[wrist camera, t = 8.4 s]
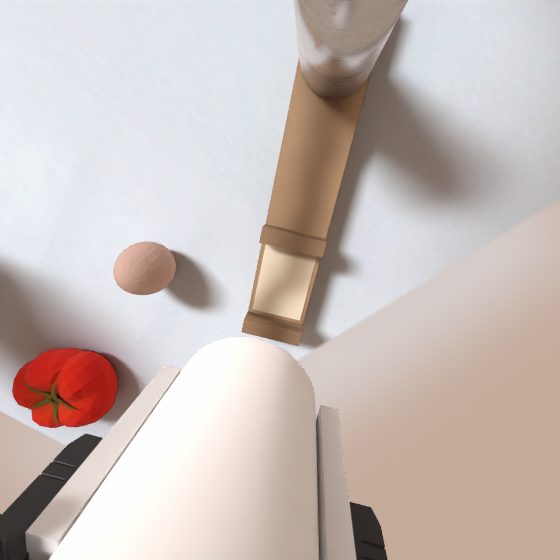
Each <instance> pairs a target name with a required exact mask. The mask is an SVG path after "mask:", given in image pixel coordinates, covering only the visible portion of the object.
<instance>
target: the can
mask: <svg viewBox="0 0 560 560" xmlns="http://www.w3.org/2000/svg"><path fill="white" fill-rule="evenodd" d="M49 560H319V533H318V490H317V449H316V415H315V395H314V389H313V386H312V383H311V381H310V378H309V377H308V375H307V373H306V372H305V370H304V369H303V368H302V367H301V365H300V364H299V363H298V362H297V361H296V360H295V359H294V358H293V357H292V356H291V355H290V354H289V353H287V352H286V351H285V350H283V349H281V348H280V347H278V346H276V345H274V344H271V343H269V342H266V341H263V340H259V339H255V338H247V337H233V338H226V339H222V340H218V341H215V342H213V343H211V344H208V345H207V346H205V347H203V348H202V349H200V350H199V351H198V352H197V353H196V354H195V355H194V356H193V357H192V358H191V359H190V360H189V362H188V363H187V364H186V366H185V367H184V368H183V370H182V371H181V372H180V374H179V375H178V377H177V378H176V379H175V381H174V382H173V384H172V385H171V386H170V388H169V389H168V391H167V392H166V393H165V395H164V396H163V398H162V399H161V400H160V402H159V403H158V405H157V406H156V408H155V409H154V410H153V412H152V413H151V415H150V416H149V417H148V419H147V420H146V422H145V423H144V425H143V426H142V427H141V429H140V430H139V432H138V433H137V435H136V436H135V437H134V439H133V440H132V442H131V443H130V444H129V446H128V447H127V449H126V450H125V452H124V453H123V454H122V456H121V457H120V459H119V460H118V462H117V463H116V464H115V466H114V467H113V469H112V470H111V472H110V473H109V474H108V476H107V477H106V479H105V480H104V482H103V483H102V484H101V486H100V487H99V489H98V490H97V492H96V493H95V494H94V496H93V497H92V499H91V500H90V502H89V503H88V504H87V506H86V507H85V509H84V510H83V512H82V513H81V514H80V516H79V517H78V519H77V520H76V522H75V523H74V524H73V526H72V527H71V529H70V530H69V532H68V533H67V534H66V536H65V537H64V539H63V540H62V542H61V543H60V544H59V546H58V547H57V549H56V550H55V552H54V553H53V554H52V556H51V557H50V559H49Z"/></svg>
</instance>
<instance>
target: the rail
mask: <svg viewBox="0 0 560 560" xmlns="http://www.w3.org/2000/svg"><path fill="white" fill-rule="evenodd" d="M370 73H371V72H370ZM369 77H370V74H369V76H368V78H367V79H366V81H365V82H364V84H363V85H362V86H361V87H360V88H359V89H358V90H357V91H356V92H354V93H353V94H351V95H350V96H347V97H345V98H342V99H326V98H322V97H320V96H318V95H317V94H315V93H314V92H313V91H312V90H311V89H310V88H309V87H308V86H307V84H306V83H305V81H304V79H303V76H302V73H301V69H300V60H299V61H298V66H297V71H296V76H295V81H294V86H293V91H292V96H291V101H290V106H289V111H288V116H287V121H286V126H285V131H284V136H283V141H282V146H281V151H280V156H279V161H278V165H277V170H276V175H275V180H274V185H273V190H272V195H271V200H270V205H269V210H268V215H267V220H266V224H265V225H264V226H263V227H262V232H261V237H260V242H259V243H262V245H261V250H260V255H259V260H258V265H257V270H256V275H255V280H254V285H253V290H252V295H251V300H250V305H249V310H248V313H247V315H246V317H245V319H244V323H243V328H242V332H243V333H247V334H251V335H255V336H260V337H264V338H268V339H272V340H276V341H280V342H284V343H288V344H292V345H296V346H299V343H300V339H301V336H302V327H303V321H304V318H305V314H306V310H307V307H308V303H309V299H310V295H311V292H312V288H313V284H314V281H315V277H316V273H317V270H318V266H319V262H320V258H321V257H322V258H323V255H324V251H325V247H326V244H327V240H326V236H327V232H328V229H329V225H330V221H331V218H332V214H333V210H334V206H335V203H336V199H337V195H338V192H339V188H340V184H341V181H342V177H343V173H344V169H345V166H346V162H347V158H348V155H349V151H350V147H351V143H352V140H353V136H354V132H355V129H356V125H357V121H358V117H359V114H360V110H361V106H362V103H363V99H364V95H365V92H366V88H367V84H368V80H369Z"/></svg>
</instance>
